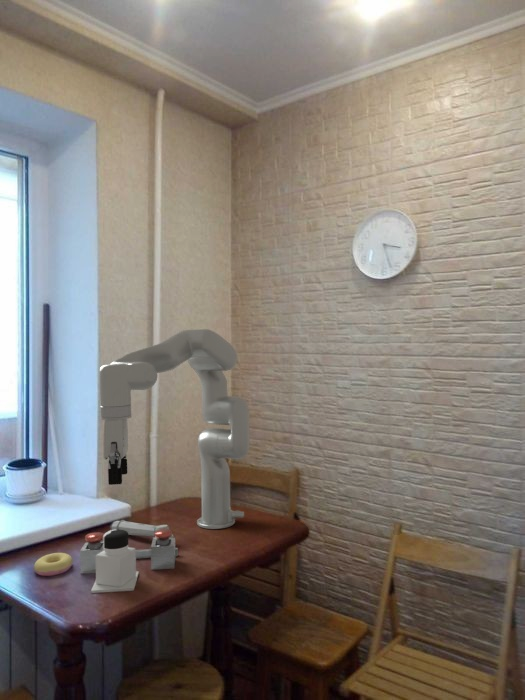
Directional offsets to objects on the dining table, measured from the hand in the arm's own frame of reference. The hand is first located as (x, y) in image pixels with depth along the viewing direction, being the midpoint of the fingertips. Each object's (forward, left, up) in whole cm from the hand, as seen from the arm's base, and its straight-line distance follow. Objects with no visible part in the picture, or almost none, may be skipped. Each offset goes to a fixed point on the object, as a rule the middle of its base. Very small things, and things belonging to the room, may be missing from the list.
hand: (118, 479), depth 137 cm
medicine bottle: (0, +4, -25) cm, 25 cm away
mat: (0, +4, -25) cm, 25 cm away
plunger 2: (-11, -6, -24) cm, 27 cm away
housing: (-2, -8, -25) cm, 26 cm away
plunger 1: (+7, -6, -24) cm, 26 cm away
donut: (+18, -7, -25) cm, 32 cm away
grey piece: (-3, -27, -25) cm, 37 cm away
